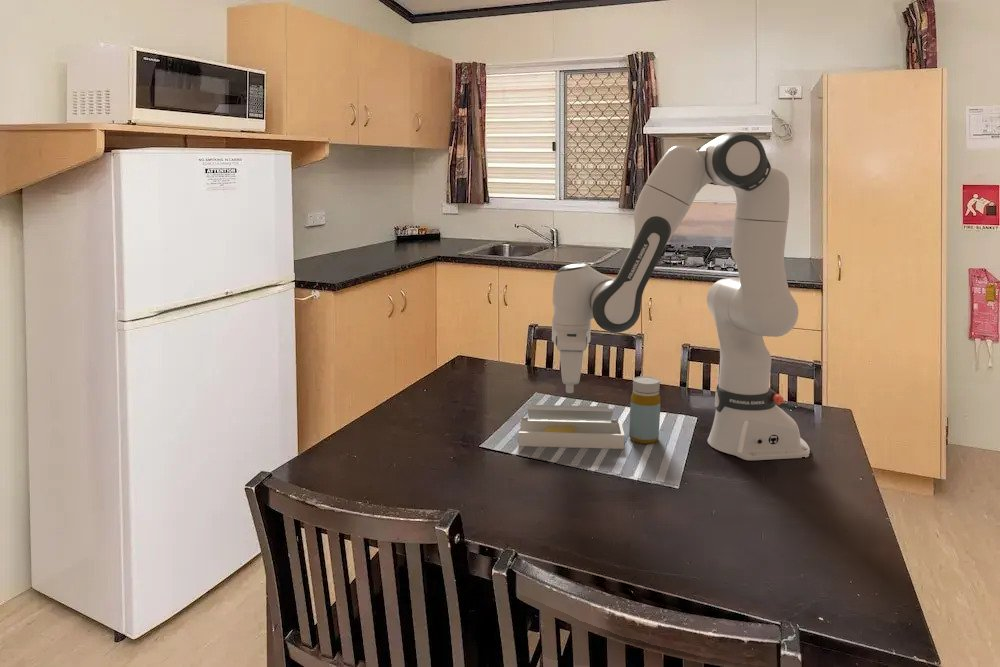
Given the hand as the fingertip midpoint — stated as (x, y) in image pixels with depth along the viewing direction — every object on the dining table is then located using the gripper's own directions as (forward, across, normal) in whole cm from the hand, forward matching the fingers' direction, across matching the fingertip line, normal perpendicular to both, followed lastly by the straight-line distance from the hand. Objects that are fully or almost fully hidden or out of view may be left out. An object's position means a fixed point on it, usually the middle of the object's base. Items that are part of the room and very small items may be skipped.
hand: (569, 391), depth 165 cm
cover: (+7, -2, 0) cm, 7 cm away
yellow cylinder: (+12, -2, -2) cm, 12 cm away
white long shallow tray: (+13, -2, 0) cm, 13 cm away
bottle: (+13, -4, +18) cm, 23 cm away
